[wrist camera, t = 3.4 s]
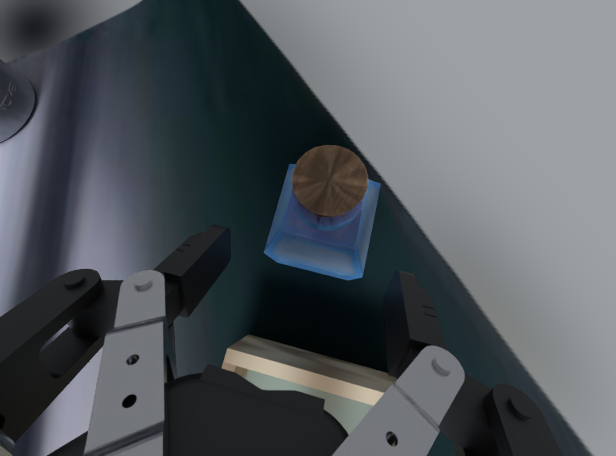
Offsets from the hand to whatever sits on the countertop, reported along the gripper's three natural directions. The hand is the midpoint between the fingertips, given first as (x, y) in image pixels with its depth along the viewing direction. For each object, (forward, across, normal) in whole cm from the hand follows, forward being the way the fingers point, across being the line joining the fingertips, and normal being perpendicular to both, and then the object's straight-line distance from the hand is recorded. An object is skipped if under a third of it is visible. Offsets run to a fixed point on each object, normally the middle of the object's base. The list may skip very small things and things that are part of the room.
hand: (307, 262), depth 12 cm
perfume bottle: (+9, 0, +4) cm, 10 cm away
